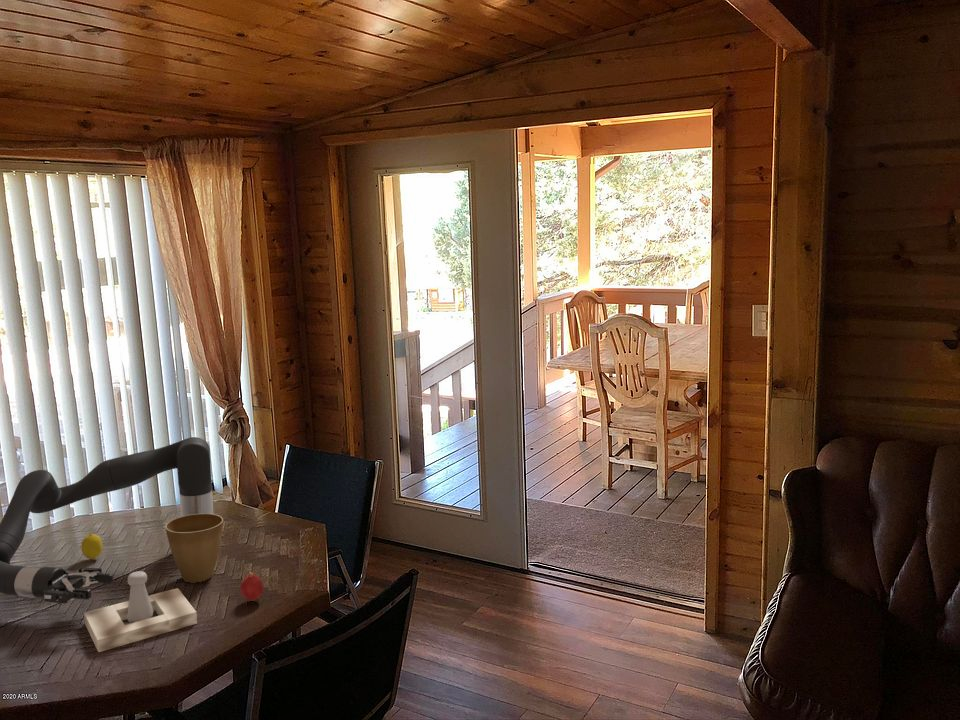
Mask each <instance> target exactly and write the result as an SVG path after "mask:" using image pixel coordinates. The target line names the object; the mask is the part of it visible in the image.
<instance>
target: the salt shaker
mask: <svg viewBox="0 0 960 720" xmlns="http://www.w3.org/2000/svg"><path fill="white" fill-rule="evenodd" d="M147 581H148V575H147V573H146V572H145V571H141V570H140V571H138V570H137V571H133V572H131V573H130V574H129V575H128V576H127V584H128V585H129V586H130V587H129V588H130V589H129V598H128V601H129V605H128V614H127V619H126V620H127V621H128V624H131V623H135V622H138V621H142V620H145V619H149V618H153V617H154V612H153V609H152V606H151V603H150V600H149V593H148V591H147V590H148V589H147V588H146V584H145V583H147Z"/></svg>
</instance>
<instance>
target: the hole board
mask: <svg viewBox="0 0 960 720" xmlns="http://www.w3.org/2000/svg"><path fill="white" fill-rule="evenodd" d="M148 596H149V600H150V603H151V606H152V609H153V613H154V612H156V614H157V615H156V616H152V618H149V619H145V620H142V621H138V622H135V623H131V624H130V623H127V624H125V623H124V622H123V621H126V620H128V619H127V614H128V605H129V600H126V601H123V602H119V603H115V604H112V605H108V606H103V607H99V608H96V609H92V610H89V611H88V610H87V611H84V612H83V614H84V615H83V617H84V625H85V628H86V629H87V631H88V633H89V635H90V637H91V640H92V642H93V644H94V646H95V648H96V650H97V652H98V653H101V652H104V651H108V650H111V649H115V648H118V647H121V646H125V645H129V644H131V643H135V642H139V641H142V640H145V639H149V638H152V637H156V636H160V635H163V634H166V633H169V632H173V631H176V630H180V629H182V628H186V627H190V626H192V625H197V624H198V614H197V610H196V609H195V608H194V607H193V606H192V604H191V603H190V602H189V601H188V599H187V598H186V597H185V596H184V594H183V592H182V591H181V590H180V589H179V588H178V587H177V588H173V589H170V590H164V591H162V592H161V591H160V592H157V593H154V594H150V595H149V594H148Z"/></svg>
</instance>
